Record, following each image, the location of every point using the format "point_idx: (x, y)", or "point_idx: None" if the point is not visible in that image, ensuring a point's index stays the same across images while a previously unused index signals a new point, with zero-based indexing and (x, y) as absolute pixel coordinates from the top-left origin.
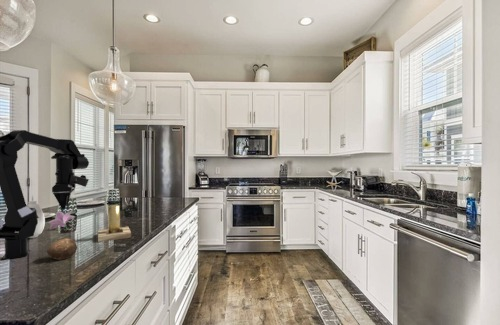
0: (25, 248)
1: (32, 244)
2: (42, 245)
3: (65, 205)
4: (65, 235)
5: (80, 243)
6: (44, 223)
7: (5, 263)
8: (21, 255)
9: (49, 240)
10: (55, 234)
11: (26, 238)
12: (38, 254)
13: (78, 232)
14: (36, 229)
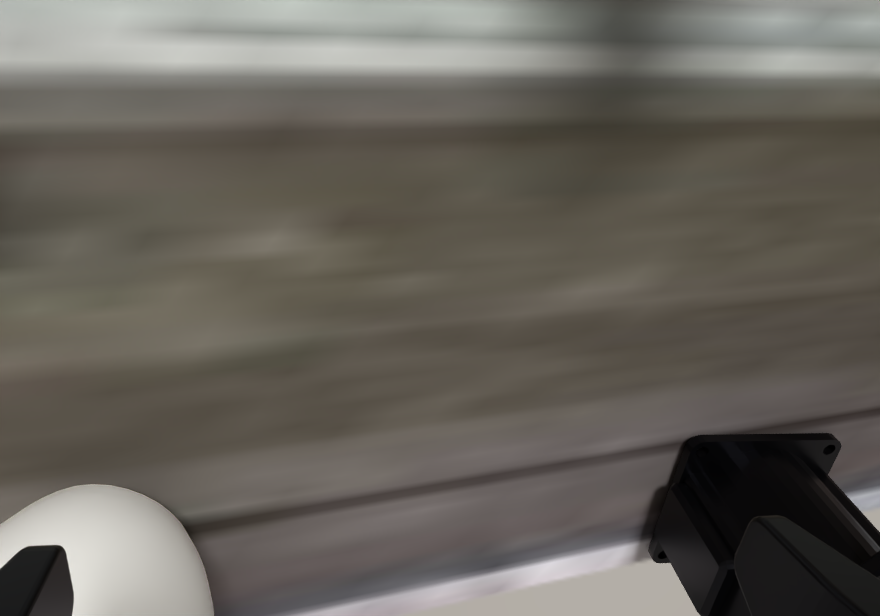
0: (816, 483)
1: (440, 462)
2: (551, 380)
3: (872, 580)
4: (184, 201)
5: (793, 12)
6: None
7: (875, 505)
8: (827, 465)
9: (367, 349)
10: (42, 324)
11: (867, 549)
12: (845, 364)
13: (51, 16)
14: (190, 564)
